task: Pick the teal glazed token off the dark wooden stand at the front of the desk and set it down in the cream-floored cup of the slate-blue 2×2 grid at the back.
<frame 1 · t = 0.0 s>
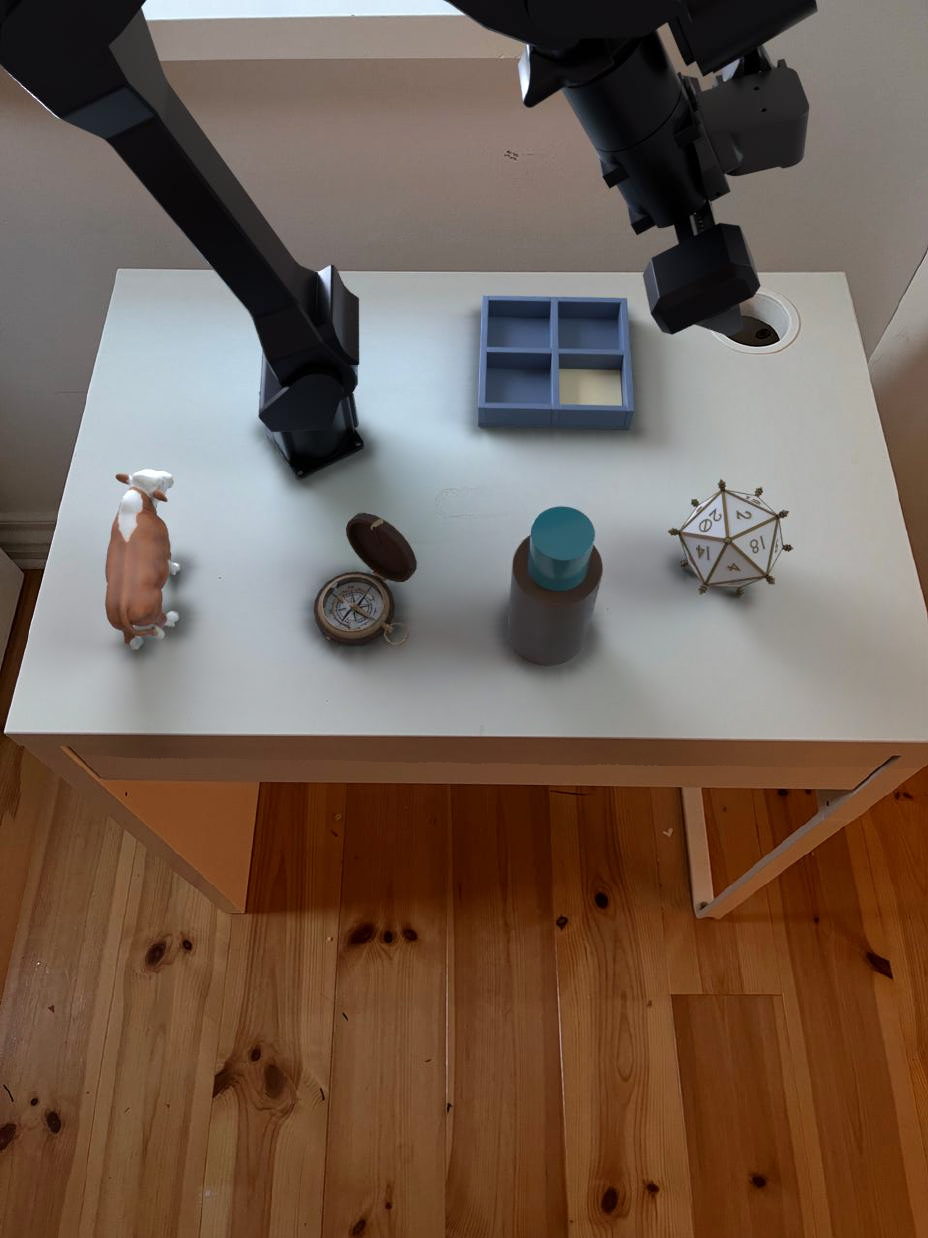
hand: (722, 283, 64), 15 cm above the table, tool tilted 35°, fingers open, 9 cm apart
compass: (371, 612, 69), on the table
bull figurine: (161, 587, 70), on the table
stand: (547, 629, 68), on the table
grid: (553, 370, 79), on the table
token: (557, 565, 59), point 9 cm above the table, touching stand
game die: (717, 568, 70), on the table
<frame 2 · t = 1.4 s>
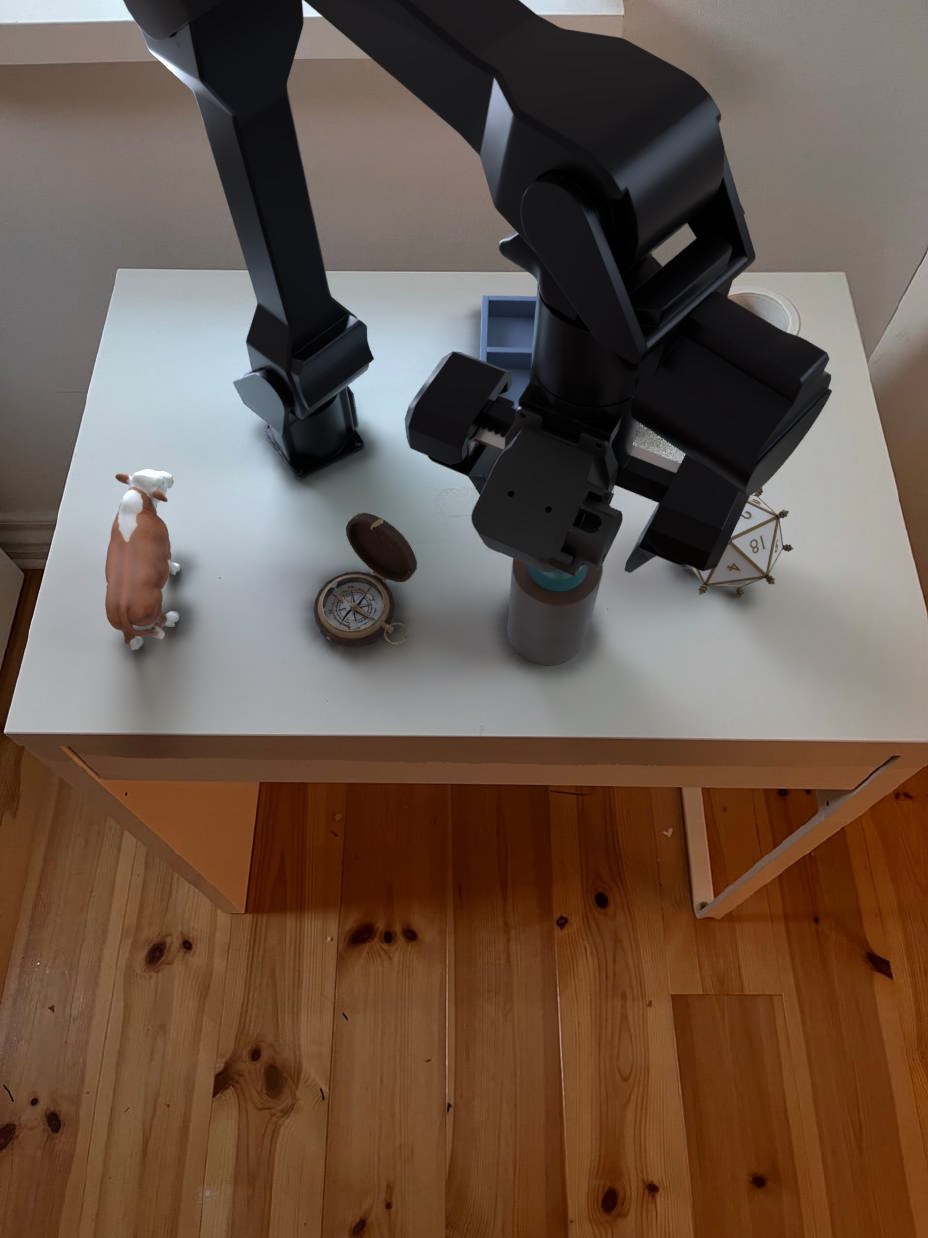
hand: (562, 537, 56), 13 cm above the table, tool pointing down, fingers open, 9 cm apart
nothing on the table moved.
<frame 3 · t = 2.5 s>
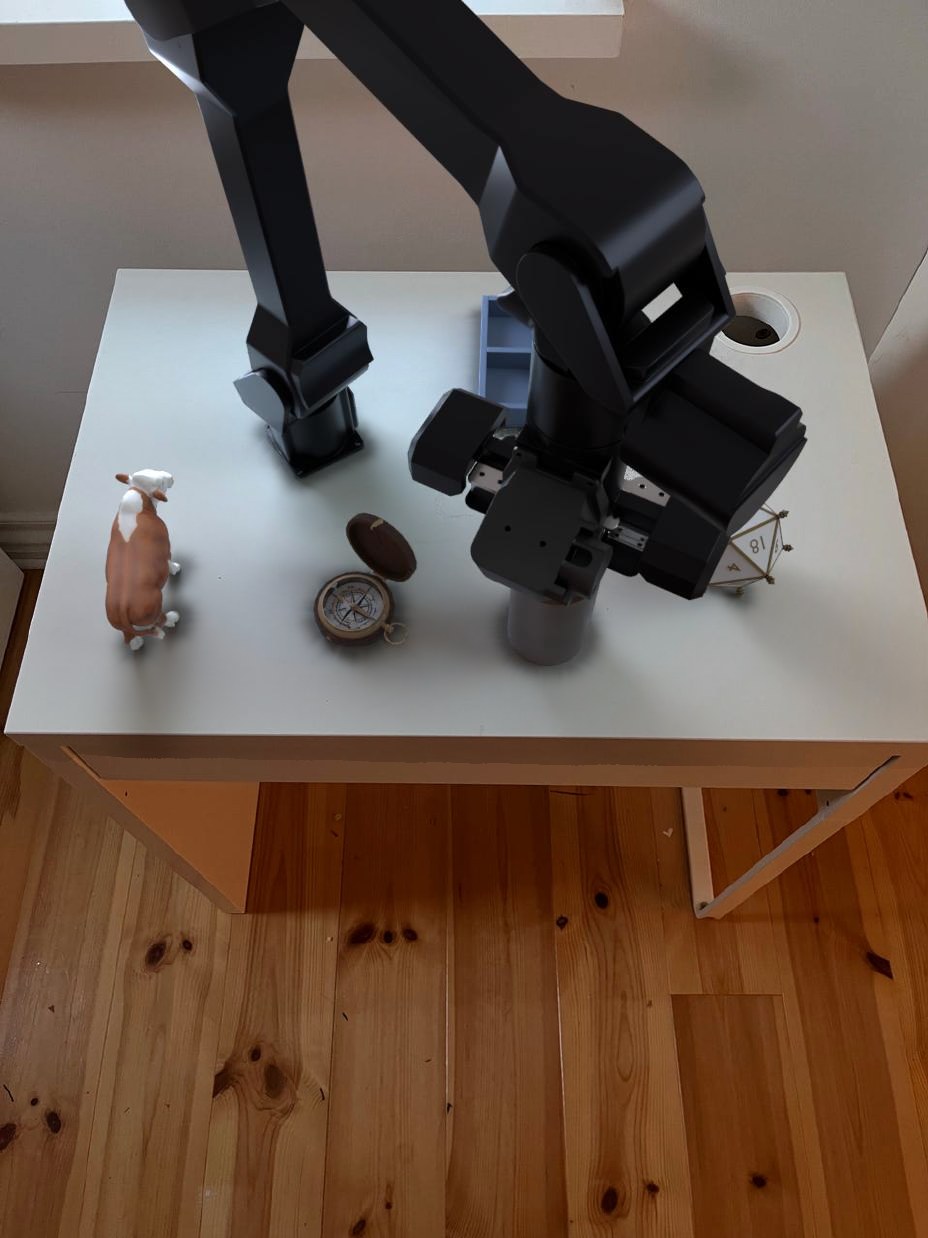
hand: (557, 562, 59), 10 cm above the table, tool pointing down, fingers closed on token, 4 cm apart
token: (557, 565, 59), point 10 cm above the table, touching gripper, stand
everything else where it was.
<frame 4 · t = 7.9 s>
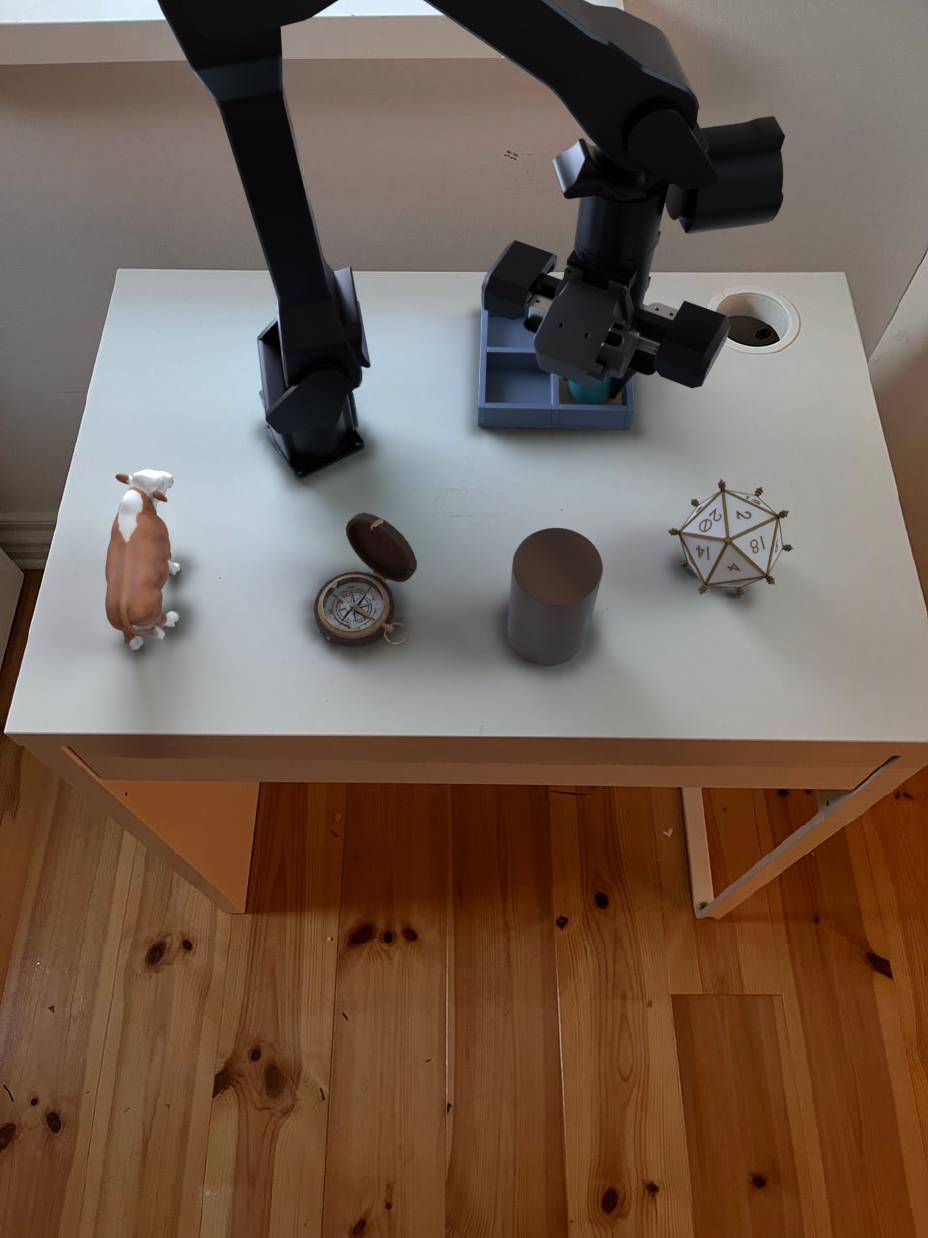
hand: (590, 386, 77), 1 cm above the table, tool pointing down, fingers closed on token, 4 cm apart
token: (590, 388, 77), point 1 cm above the table, touching gripper
everything else where it was.
when the fingers open (3 cm above the table, at t = 14.3 s): token drops 2 cm, resting on grid.
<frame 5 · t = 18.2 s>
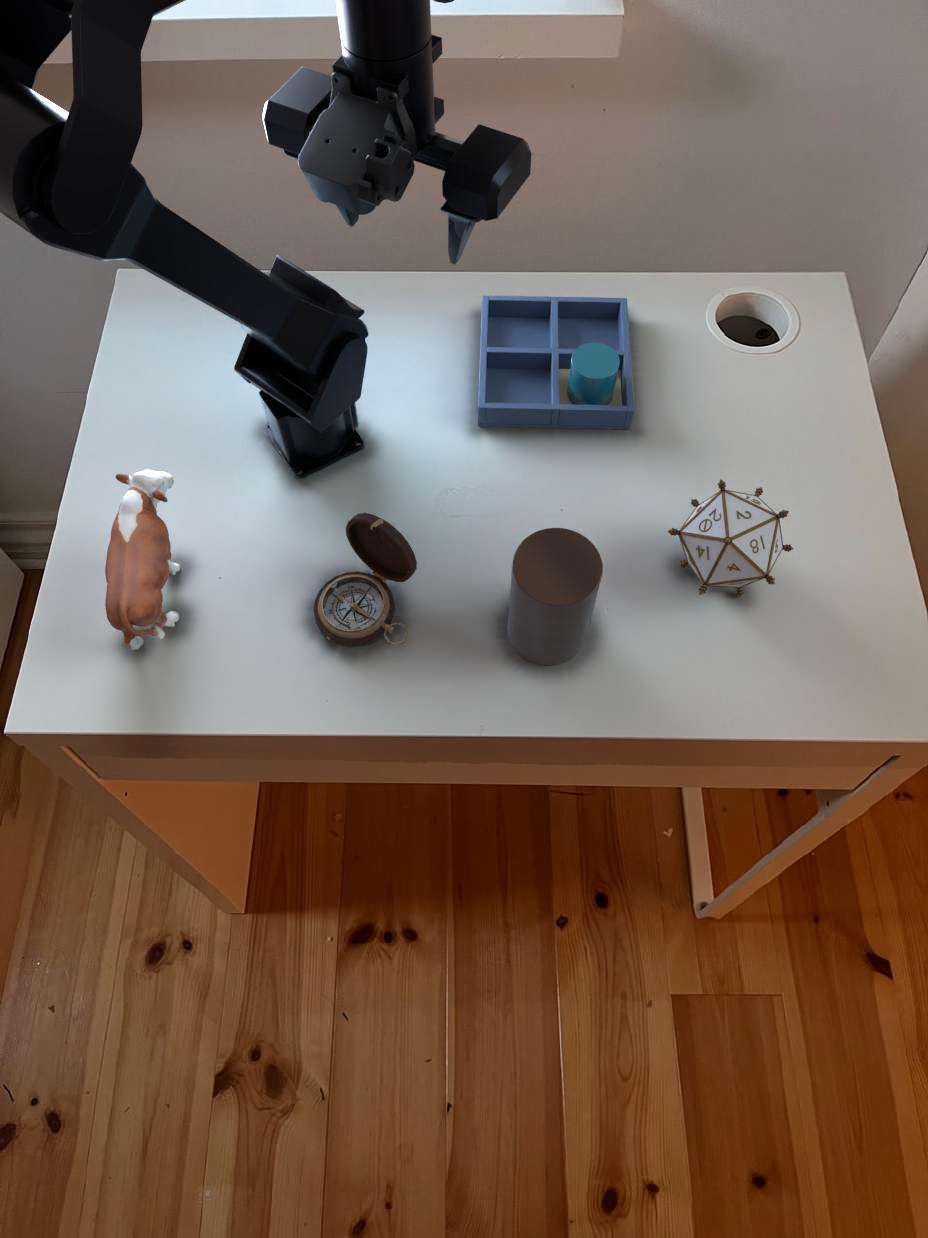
hand: (403, 241, 70), 12 cm above the table, tool pointing down, fingers open, 9 cm apart
token: (589, 393, 77), point 1 cm above the table, touching grid
everything else where it was.
at the end: token 0.1 cm from the target spot in the grid, point 0.6 cm above the grid's base; token tilted 0°; the gripper is holding nothing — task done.
